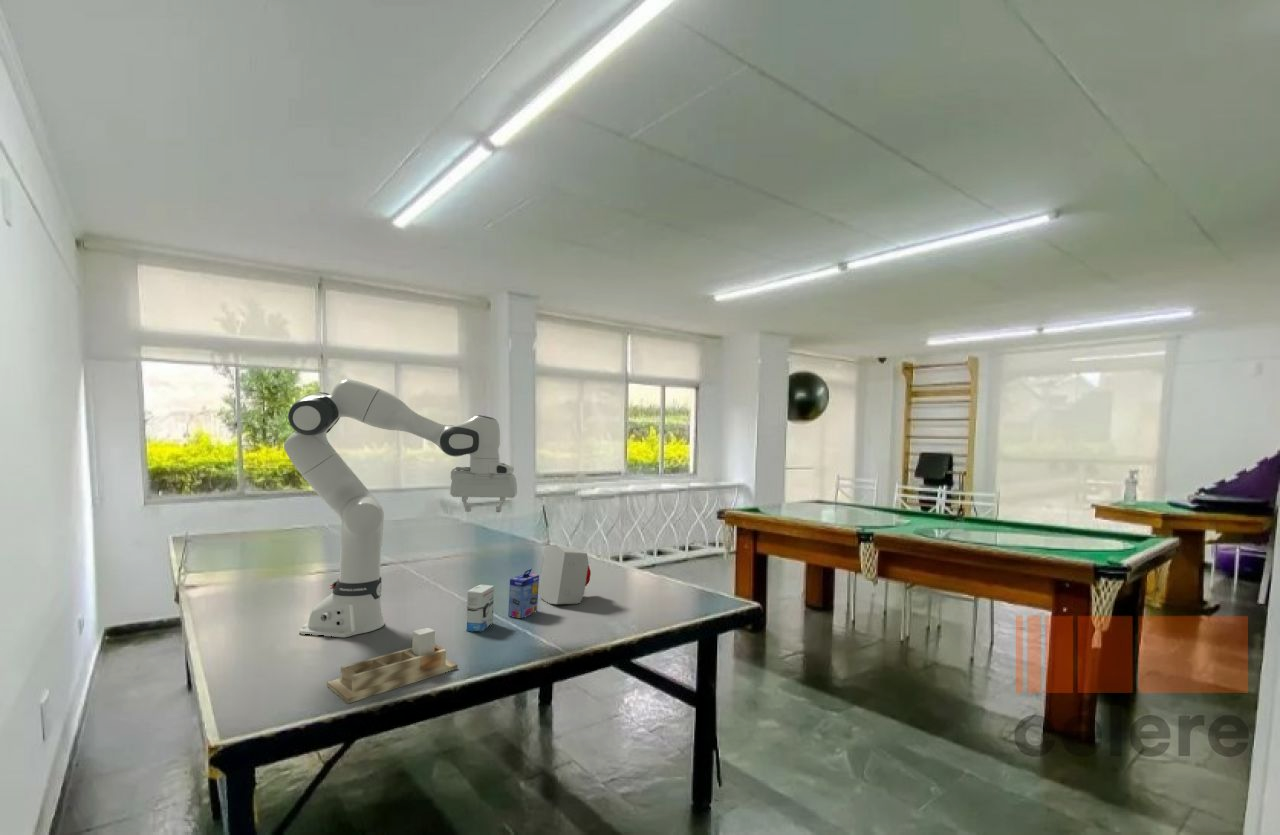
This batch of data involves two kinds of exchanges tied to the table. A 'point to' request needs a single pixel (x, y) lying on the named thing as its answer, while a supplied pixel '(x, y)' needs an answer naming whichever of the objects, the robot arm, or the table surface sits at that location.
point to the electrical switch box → (563, 575)
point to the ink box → (480, 607)
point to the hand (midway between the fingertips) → (483, 511)
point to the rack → (388, 673)
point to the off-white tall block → (423, 641)
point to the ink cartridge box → (523, 594)
